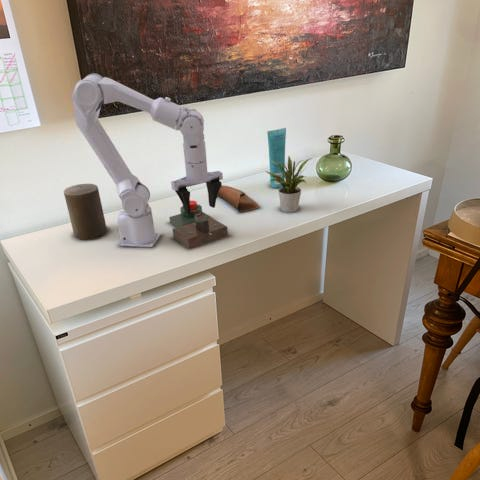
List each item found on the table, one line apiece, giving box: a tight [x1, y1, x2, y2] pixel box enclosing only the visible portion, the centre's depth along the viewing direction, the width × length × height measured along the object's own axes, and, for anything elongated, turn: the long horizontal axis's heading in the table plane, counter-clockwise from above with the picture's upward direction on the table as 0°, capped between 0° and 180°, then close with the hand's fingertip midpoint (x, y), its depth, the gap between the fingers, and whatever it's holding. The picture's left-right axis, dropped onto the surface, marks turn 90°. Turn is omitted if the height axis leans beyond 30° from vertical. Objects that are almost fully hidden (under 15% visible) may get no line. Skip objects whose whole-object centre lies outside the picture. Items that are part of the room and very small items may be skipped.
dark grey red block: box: [195, 213, 209, 233], centre depth 140 cm, size 6×2×4 cm, turn 30°
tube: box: [266, 127, 287, 189], centre depth 171 cm, size 7×5×19 cm, turn 127°
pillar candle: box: [63, 183, 108, 241], centre depth 145 cm, size 10×10×15 cm
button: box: [190, 200, 198, 210], centre depth 152 cm, size 4×4×2 cm
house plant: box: [265, 155, 313, 213], centre depth 155 cm, size 14×14×16 cm
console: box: [172, 217, 229, 250], centre depth 142 cm, size 13×11×3 cm
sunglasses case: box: [217, 184, 260, 213], centre depth 164 cm, size 18×7×7 cm
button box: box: [168, 203, 212, 228], centre depth 152 cm, size 10×9×4 cm
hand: (200, 209), depth 138 cm, fingers open, 7 cm apart
